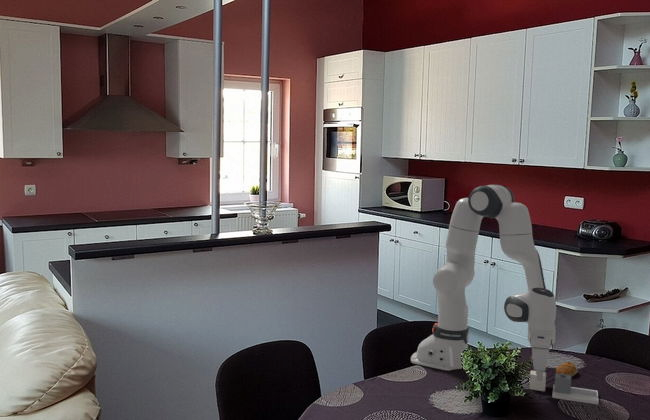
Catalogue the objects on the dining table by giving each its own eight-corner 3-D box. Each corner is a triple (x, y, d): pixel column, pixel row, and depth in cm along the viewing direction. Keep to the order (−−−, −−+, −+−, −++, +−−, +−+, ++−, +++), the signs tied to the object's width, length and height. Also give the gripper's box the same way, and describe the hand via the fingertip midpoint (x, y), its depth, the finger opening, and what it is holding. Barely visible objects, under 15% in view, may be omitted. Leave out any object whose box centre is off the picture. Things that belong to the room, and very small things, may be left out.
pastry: (570, 380, 221) (571, 370, 220) (551, 376, 225) (552, 366, 224) (578, 373, 228) (578, 363, 228) (559, 369, 232) (560, 359, 232)
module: (529, 389, 212) (530, 372, 211) (530, 384, 216) (531, 368, 215) (545, 391, 210) (545, 374, 209) (545, 387, 214) (546, 370, 213)
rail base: (552, 397, 204) (553, 378, 204) (553, 387, 214) (554, 368, 213) (598, 404, 199) (599, 384, 199) (597, 393, 208) (598, 374, 208)
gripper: (533, 327, 222) (532, 364, 223) (530, 343, 203) (529, 384, 204) (551, 329, 220) (550, 366, 221) (550, 345, 201) (549, 386, 202)
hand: (540, 375), depth 212 cm, fingers open, 8 cm apart
